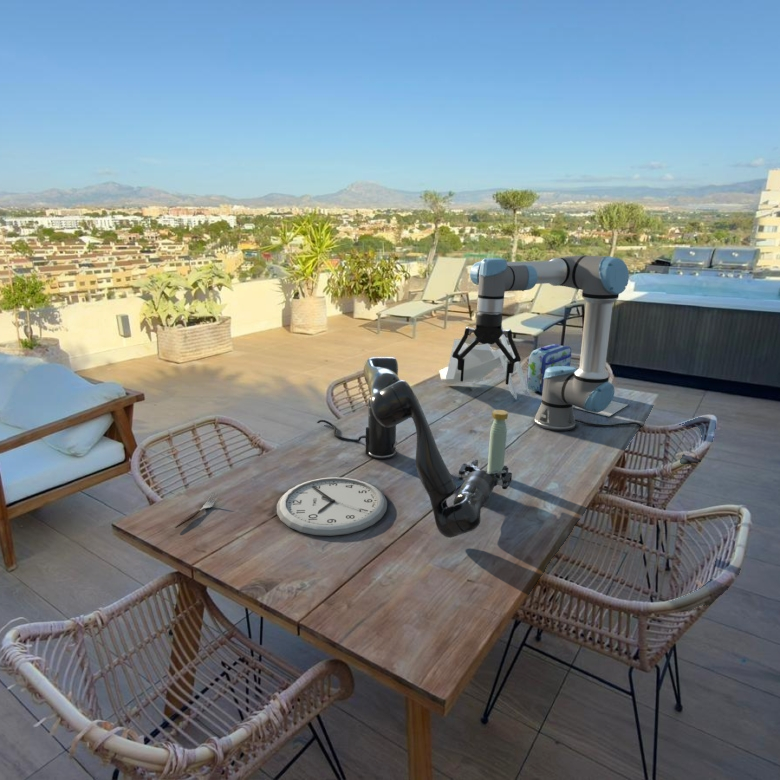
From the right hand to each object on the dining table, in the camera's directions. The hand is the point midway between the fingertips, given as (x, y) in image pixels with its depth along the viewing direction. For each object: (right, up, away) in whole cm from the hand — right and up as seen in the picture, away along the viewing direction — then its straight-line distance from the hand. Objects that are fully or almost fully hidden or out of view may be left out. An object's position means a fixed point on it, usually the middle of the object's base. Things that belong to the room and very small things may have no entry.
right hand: (484, 381), depth 160 cm
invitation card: (+63, -10, +66) cm, 92 cm away
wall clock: (-45, -34, -17) cm, 59 cm away
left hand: (+1, -25, -6) cm, 26 cm away
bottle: (+3, -29, +1) cm, 29 cm away
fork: (-79, -35, -23) cm, 90 cm away
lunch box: (+46, -2, +90) cm, 102 cm away
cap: (+4, -9, -5) cm, 11 cm away
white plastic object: (+13, -4, +83) cm, 84 cm away
